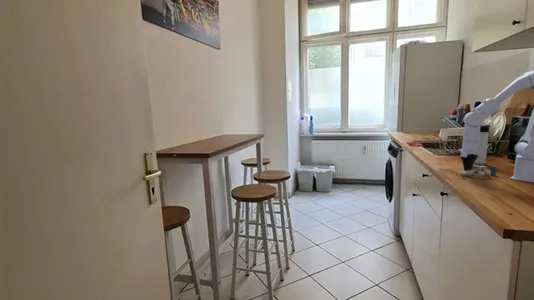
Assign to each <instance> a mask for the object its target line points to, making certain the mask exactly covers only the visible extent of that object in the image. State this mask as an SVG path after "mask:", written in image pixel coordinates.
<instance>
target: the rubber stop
mask: <svg viewBox="0 0 534 300" xmlns="http://www.w3.org/2000/svg"><path fill="white" fill-rule="evenodd" d="M497 166H498V165H492V166H490V171H491V174H490V175H491V176H492V177H495V176H497V175H496V174H497Z"/></svg>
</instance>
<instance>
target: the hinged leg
mask: <svg viewBox="0 0 534 300" xmlns="http://www.w3.org/2000/svg"><path fill="white" fill-rule="evenodd" d="M472 170H473V171H475V172H478V171H483V172H484V170H488V166H487V165H474V164H473V167H472Z"/></svg>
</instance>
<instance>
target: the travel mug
mask: <svg viewBox="0 0 534 300" xmlns="http://www.w3.org/2000/svg"><path fill="white" fill-rule="evenodd" d="M490 127H491V124H486V125H485V124H484V125H480V136H479V146H478V153H475V154H474V155H478V158H477V159H476V160H475V162H474V164H473V165H477V166H486V160H487V150H488V144H489V143H488V142H489V135H490Z"/></svg>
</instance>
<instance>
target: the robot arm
mask: <svg viewBox="0 0 534 300" xmlns="http://www.w3.org/2000/svg"><path fill="white" fill-rule="evenodd" d="M527 88H528V89H531V90H532V91H534V70H532V69H531V70H528V71H525V72H523V74H522V75H520V76H518V77H516V78H515V80H513V81H512V82H511V83H510V84H509V85H507V86H506V87H505V88H504V89H502V91H500V92H499V93H498V94H496V95H495V97H492V98H486V99H483V100H481V103H480V104H479V105H478V106H476V107H475V108H472V109H471V112H467V113H466V114H465V115H464V117H463V118H462V121H463V123H464V126H463V127H464V128H463V133H462V134H463V137H462V145H461V148H460V149H458V152H460V155H459V157H460V160H461V162H462V165H463V170H464V171H467V170H472V167H473V165H474V162H475V160H476V159H477V158H478V155H474V154H475V153H478V146H479V136H480V126H482V124H484V121H485V119H487V118H488V117H490V116H491V115H493V113H495V112H497V110H499V109H500V108H501V107H500V106H501V104H502V103H504V102H505V101H506V100H507V99H508V98H511V97H512V96H513V95H515V94H516V93H517V92H518V91H520V90H525V89H527ZM514 151H515V153H516V156H515V160H514V161H515V162H514V167H513V168H514V170H513V175H512V176H510V177H509V179H510V180H515V181H522V182H527V183H528V182H529V183H534V108H533V109H532V111H531V115H530V118H529V121H528V125H527V126H526V129H525V133H524V134H523V135H522V136H521V137H520V139H519V141H518V142H517V143H516V144H515V145H514Z"/></svg>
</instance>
